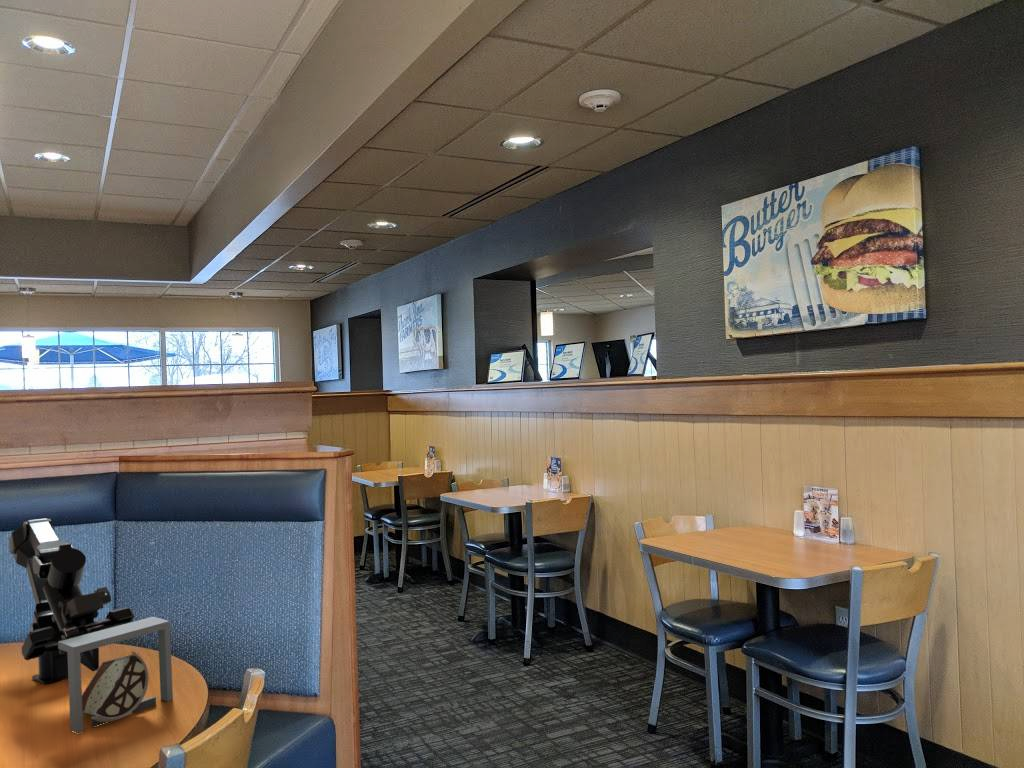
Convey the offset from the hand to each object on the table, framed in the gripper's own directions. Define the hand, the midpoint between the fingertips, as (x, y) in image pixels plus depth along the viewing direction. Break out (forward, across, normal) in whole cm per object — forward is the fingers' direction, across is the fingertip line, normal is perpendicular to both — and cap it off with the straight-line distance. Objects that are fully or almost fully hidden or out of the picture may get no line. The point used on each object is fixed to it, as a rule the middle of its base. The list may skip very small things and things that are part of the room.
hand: (96, 669), depth 146 cm
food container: (+5, -1, 0) cm, 5 cm away
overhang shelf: (+10, 0, -2) cm, 11 cm away
